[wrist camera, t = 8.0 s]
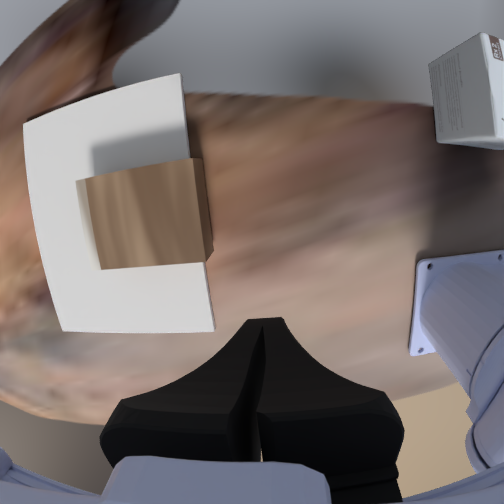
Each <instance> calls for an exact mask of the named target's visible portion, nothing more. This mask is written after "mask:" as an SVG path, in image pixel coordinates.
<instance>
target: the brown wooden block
mask: <svg viewBox="0 0 504 504" xmlns="http://www.w3.org/2000/svg"><path fill="white" fill-rule="evenodd" d="M75 182H76V190H77V197H78V203H79V209H80V215H81V221H82V227H83V232H84V237H85V242H86V247H87V252H88V257H89V261H90V266H91V270H92V271H94V270H108V269H121V268H134V267H147V266H160V265H173V264H186V263H199V262H206V261H207V260H208V258H209V257H210V255H211V254H212V253H213V251H214V248H213V241H212V234H211V226H210V218H209V211H208V203H207V195H206V186H205V178H204V170H203V161H202V159H201V158H189V159H183V160H176V161H170V162H164V163H158V164H153V165H147V166H142V167H137V168H131V169H126V170H121V171H117V172H112V173H107V174H102V175H98V176H94V177H89V178H85V179H81V180H76V181H75Z"/></svg>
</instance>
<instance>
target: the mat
mask: <svg viewBox="0 0 504 504" xmlns="http://www.w3.org/2000/svg"><path fill="white" fill-rule="evenodd" d="M23 133H24V149H25V161H26V171H27V180H28V188H29V195H30V202H31V208H32V214H33V220H34V225H35V230H36V235H37V240H38V245H39V249H40V254H41V258H42V262H43V266H44V270H45V274H46V278H47V282H48V285H49V289H50V292H51V296H52V299H53V303H54V306H55V309H56V312H57V315H58V318H59V321H60V324H61V327H62V330H63V331H72V332H100V333H189V332H214V331H215V329H216V328H215V322H214V316H213V311H212V305H211V299H210V293H209V287H208V280H207V274H206V268H205V262H199V263H186V264H173V265H160V266H147V267H134V268H121V269H108V270H94V271H92V270H91V266H90V261H89V257H88V252H87V247H86V242H85V237H84V232H83V227H82V221H81V215H80V209H79V203H78V197H77V190H76V182H75V181H76V180H81V179H85V178H89V177H94V176H98V175H102V174H107V173H112V172H117V171H121V170H126V169H131V168H137V167H142V166H147V165H153V164H158V163H164V162H170V161H176V160H183V159H189V158H190V149H189V140H188V131H187V122H186V112H185V101H184V91H183V79H182V74H181V73H177V74H172V75H168V76H163V77H159V78H155V79H151V80H147V81H143V82H140V83H136V84H132V85H128V86H125V87H121V88H118V89H115V90H111V91H108V92H105V93H102V94H99V95H96V96H93V97H90V98H87V99H84V100H81V101H79V102H76V103H73V104H70V105H68V106H65V107H62V108H60V109H57V110H55V111H52V112H50V113H47V114H45V115H43V116H40V117H38V118H36V119H33V120H31V121H29V122H27V123H25V124H23Z"/></svg>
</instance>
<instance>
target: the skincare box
mask: <svg viewBox="0 0 504 504" xmlns="http://www.w3.org/2000/svg"><path fill="white" fill-rule="evenodd" d="M429 72H430V79H431V87H432V94H433V104H434V115H435V126H436V141H437V142H438V143H446V144H456V145H465V146H473V147H481V148H488V149H495V150H504V40H502V39H499V38H496V37H494V36H491V35H489V34H486V33H481V32H480V33H478V34H477V35H475V36H473V37H472V38H470V39H468V40H467V41H465V42H464V43H462V44H460V45H459V46H457V47H455V48H454V49H452V50H450V51H449V52H447V53H446V54H444V55H442V56H441V57H439V58H438V59H436V60H435V61H433V62H431V63H430V64H429Z"/></svg>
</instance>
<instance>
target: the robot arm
mask: <svg viewBox="0 0 504 504" xmlns="http://www.w3.org/2000/svg"><path fill="white" fill-rule="evenodd" d="M499 255H500V257H499ZM498 257H499V259H498ZM430 263H431V267H430V268H428V269H427V266H428V264H430ZM421 347H422V349H421V350H419V348H421ZM433 352H437V353H438V354H439V355H440V357H441V358H442V359H443V361H444V362H445V364H446V365H447V366H448V368H449V369H450V370H451V372H452V373H453V375H454V376H455V377H456V379H457V380H458V382H459V383H460V384H461V386H462V387H463V389H464V390H465V392H466V393H467V395H468V396H469V397H470V399H471V401H470V404H469V407H468V408H467V410H466V413H467V414H468V416H469V418H470V419H471V421H472V422H473V425H472V427H471V428H470V429H469V431H468V433H467V435H466V440H465V444H466V451H467V455H468V458H469V460H470V463H471V465H472V467H473V469H474V470H475V472H476V473H477V474H475V475H473V476H470V477H468V478H465V479H462V480H460V481H457V482H454V483H452V484H449V485H446V486H443V487H440V488H437V489H434V490H431V491H428V492H424V493H421V494H417V495H414V496H410V497H407V498H402V496H401V493H400V490H399V487H398V483H397V478H398V476H399V472H398V469H397V466H396V460H397V457H398V454H399V451H400V449H401V445H402V442H403V439H404V427H403V424H402V421H401V418H400V416H399V414H398V412H397V410H396V409H395V407H394V406H393V404H392V402H391V401H390V399H389V398H388V397H387V395H386V394H385V392H383V391H380V390H376V389H373V388H369V387H366V386H363V385H360V384H357V383H355V382H352V381H350V380H348V379H345V378H343V377H341V376H339V375H337V374H336V373H334V372H332V371H331V370H329V369H327V368H326V367H324V366H323V365H321V364H320V363H319V362H318V361H316V360H315V359H314V358H313V357H312V356H311V355H310V354H309V353H308V352H307V351H306V350H305V349H304V348H303V347H302V346H301V345H300V344H299V343H298V341H297V340H296V339H295V337H294V336H293V335H292V333H291V332H290V330H289V329H288V327H287V325H286V323H285V321H284V319H283V318H282V317H275V318H259V319H247V321H246V322H245V323H244V324H243V325H242V326H241V328H240V329H239V330H238V331H237V332H236V334H235V335H234V336H233V337H232V338H231V339H230V340H229V341H228V343H227V344H226V345H225V346H224V347H223V348H222V349H221V350H220V351H219V352H217V353H216V354H215V355H214V356H213V357H212V358H211V359H209V360H208V361H207V362H205V363H204V364H203V365H201V366H200V367H198V368H197V369H195V370H194V371H192V372H190V373H189V374H187V375H185V376H183V377H182V378H180V379H178V380H176V381H174V382H172V383H170V384H168V385H165V386H163V387H160V388H158V389H155V390H153V391H150V392H147V393H144V394H140V395H137V396H133V397H129V398H126V399H121V401H120V402H119V403H118V405H117V407H116V408H115V410H114V411H113V413H112V415H111V417H110V418H109V420H108V422H107V424H106V425H105V427H104V429H103V431H102V433H101V435H100V445H101V448H102V450H103V452H104V454H105V456H106V458H107V459H108V461H109V463H110V464H111V466H112V467H113V469H114V470H113V472H112V474H111V476H110V478H109V481H108V482H107V485H106V487H105V489H104V491H103V493H102V495H98V494H94V493H91V492H87V491H84V490H81V489H78V488H75V487H72V486H69V485H66V484H63V483H60V482H57V481H55V480H52V479H49V478H47V477H44V476H41V475H39V474H36V473H34V472H32V471H30V470H27V469H25V468H23V467H20V466H18V465H16V464H14V463H13V462H12V460H11V458H10V457H9V455H8V454H7V453H6V452H5V451H4V450H3V449H2V448H1V447H0V504H504V250H497V251H489V252H481V253H473V254H464V255H456V256H447V257H438V258H429V259H422V260H420V261H419V262H418V263H417V267H416V284H415V297H414V308H413V318H412V327H411V335H410V343H409V353H410V355H411V356H418V355H423V354H428V353H433ZM261 451H262V458H263V462H261Z"/></svg>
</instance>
